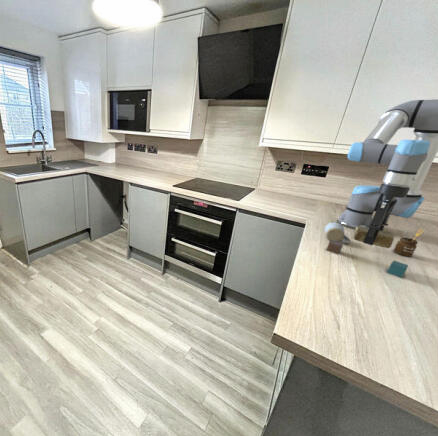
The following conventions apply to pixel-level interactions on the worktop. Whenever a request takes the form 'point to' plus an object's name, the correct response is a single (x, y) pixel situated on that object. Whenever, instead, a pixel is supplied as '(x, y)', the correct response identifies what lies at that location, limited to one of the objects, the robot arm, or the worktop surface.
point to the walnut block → (334, 246)
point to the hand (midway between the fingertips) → (370, 241)
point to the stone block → (381, 239)
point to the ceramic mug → (336, 232)
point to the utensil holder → (407, 245)
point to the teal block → (397, 268)
